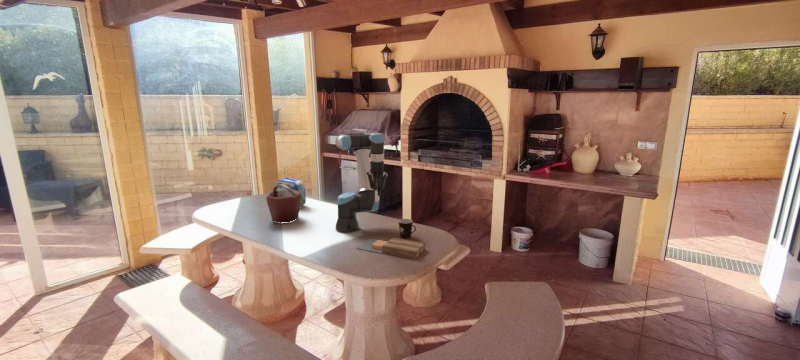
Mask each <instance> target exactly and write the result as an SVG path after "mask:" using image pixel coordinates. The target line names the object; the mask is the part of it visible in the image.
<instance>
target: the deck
mask: <svg viewBox="0 0 800 360" xmlns="http://www.w3.org/2000/svg"><path fill="white" fill-rule="evenodd" d="M425 250H426V242H421V241H415V240H410V239H405V238H399V237H392V238H391V239H389V240H388V241H387V243H385V244H384V245H383V246H382V253H381V254H387V255H393V256H398V257H401V258H408V259H413V260H416V259H417V258H419V257H420V255H422V253H423V252H424V251H425Z"/></svg>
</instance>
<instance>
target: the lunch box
mask: <svg viewBox="0 0 800 360" xmlns="http://www.w3.org/2000/svg"><path fill="white" fill-rule="evenodd" d="M280 184H283V185H286V186H288V187H289V188H291V189H292V190H296V191H298V192H299V193H301V202H300V207H301V206H304V205H306V201H307V199H306V198H307V197H306V189H305V184H304V183H303V181H302V180H299V179H295V178H290V177H288V176H287V177H284V178H282V179H278V180H277V182H276V185H280ZM280 190H287V189H285V188H284V187H282V186H279V187H278V188H277V191H280Z"/></svg>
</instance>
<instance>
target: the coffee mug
mask: <svg viewBox="0 0 800 360" xmlns="http://www.w3.org/2000/svg"><path fill="white" fill-rule="evenodd" d="M413 228H414V230H413V231H412V229H413ZM398 229H399V237H400V239H410V238H411V237H412V234H413V233H414V232H415V231H416V230H417V228H416V226H415V225H413V220H412V219H410V218H409V219H408V218H401V219H399V220H398Z"/></svg>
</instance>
